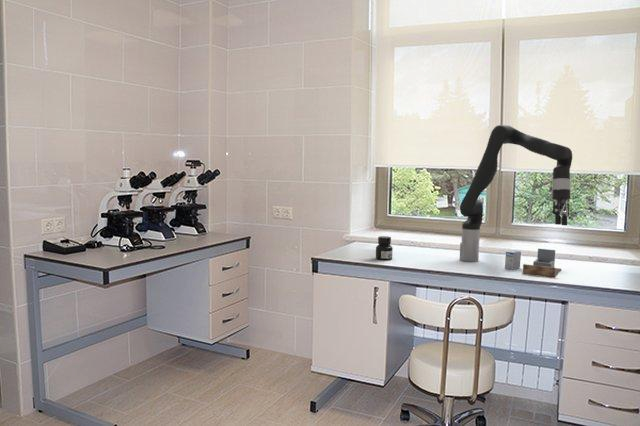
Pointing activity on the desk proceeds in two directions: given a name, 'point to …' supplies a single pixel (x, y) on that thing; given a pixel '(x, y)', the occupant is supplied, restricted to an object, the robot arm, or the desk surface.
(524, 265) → the backstop
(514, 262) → the medicine box
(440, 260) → the desk surface
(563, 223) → the robot arm
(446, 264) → the desk surface
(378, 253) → the ink bottle
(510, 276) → the desk surface
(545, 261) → the grey open lidded box
